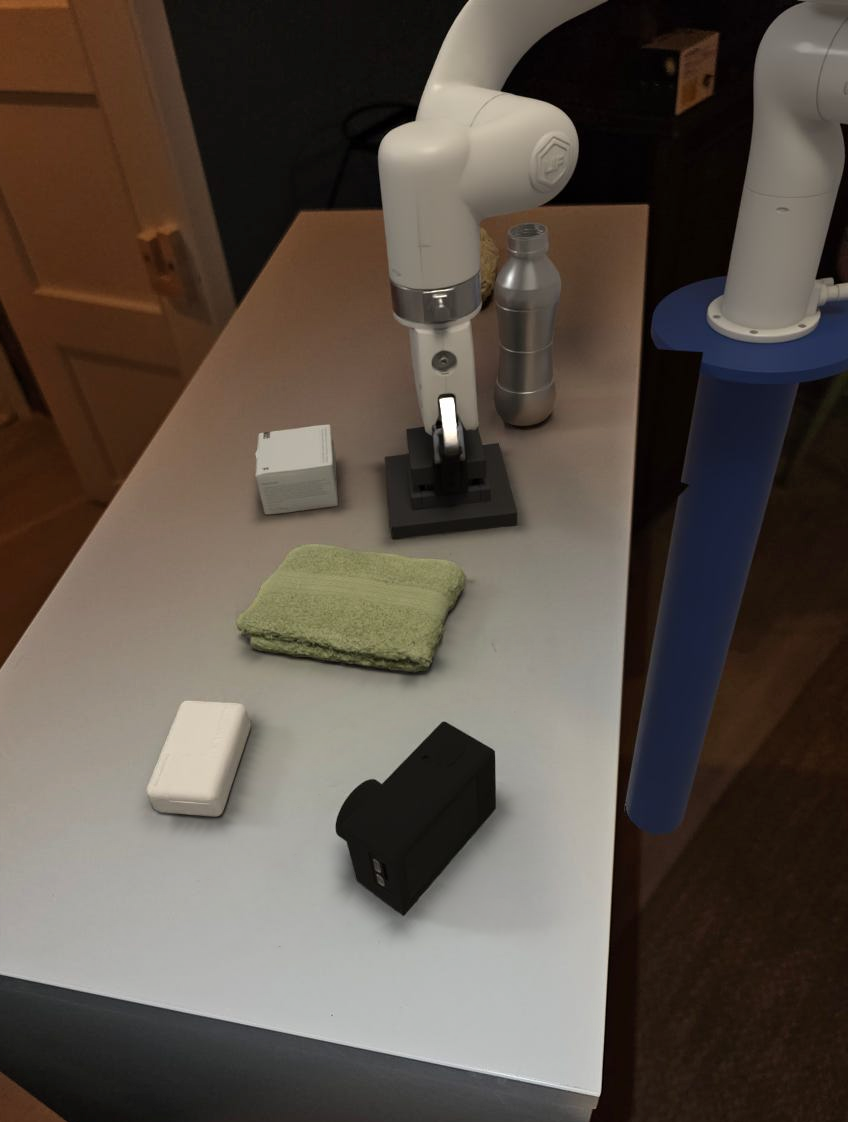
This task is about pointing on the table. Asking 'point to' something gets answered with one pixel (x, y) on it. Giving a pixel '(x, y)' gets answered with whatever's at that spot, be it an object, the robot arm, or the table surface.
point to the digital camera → (418, 815)
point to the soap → (199, 758)
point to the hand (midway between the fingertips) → (447, 468)
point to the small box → (296, 469)
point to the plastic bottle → (526, 327)
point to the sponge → (488, 264)
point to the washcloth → (354, 607)
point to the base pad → (449, 500)
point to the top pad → (424, 452)
